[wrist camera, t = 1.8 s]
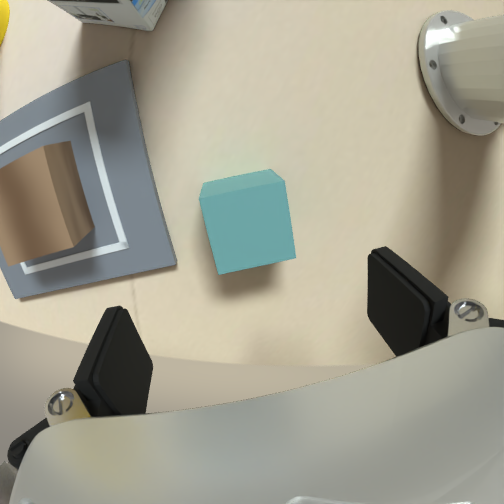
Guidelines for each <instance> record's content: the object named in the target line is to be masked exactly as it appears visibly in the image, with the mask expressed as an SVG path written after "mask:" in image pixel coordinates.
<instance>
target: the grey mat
mask: <svg viewBox="0 0 504 504" xmlns="http://www.w3.org/2000/svg"><path fill="white" fill-rule="evenodd" d="M66 141H71V145H72V149H73V153H74V157H75V161H76V165H77V169H78V173H79V177H80V180H81V184H82V187H83V191H84V194H85V198H86V201H87V204H88V207H89V210H90V214H91V217H92V220H93V223H94V226H95V227H94V228H93V229H92V230H91V231H90V232H89V233H88V234H87V235H86V236H85V237H84V238H83V239H82V240H80V241H79V242H78V243H77V244H76V245H75V246H74V247H72V248H68V249H65V250H62V251H58V252H55V253H51V254H48V255H44V256H41V257H38V258H34V259H31V260H28V261H25V262H21V263H18V264H15V265H12V266H9V267H8V265H7V262H6V260H5V257H4V255H3V252H2V250H1V247H0V268H1V270H2V272H3V275H4V277H5V279H6V281H7V283H8V286H9V288H10V290H11V292H12V294H13V296H14V298H15V299H18V298H22V297H27V296H32V295H36V294H41V293H45V292H50V291H55V290H59V289H64V288H69V287H73V286H78V285H83V284H87V283H92V282H97V281H101V280H106V279H111V278H115V277H120V276H125V275H129V274H134V273H139V272H143V271H148V270H153V269H157V268H162V267H167V266H172V265H176V262H177V258H176V255H175V252H174V249H173V245H172V242H171V239H170V235H169V232H168V228H167V225H166V222H165V218H164V215H163V211H162V207H161V204H160V200H159V196H158V193H157V189H156V185H155V181H154V177H153V173H152V169H151V165H150V161H149V157H148V153H147V149H146V145H145V140H144V136H143V131H142V127H141V122H140V118H139V113H138V108H137V103H136V98H135V93H134V88H133V83H132V77H131V72H130V66H129V61H127V60H123V61H120V62H117V63H115V64H112V65H109V66H107V67H104V68H102V69H99V70H97V71H94V72H92V73H89V74H87V75H85V76H82V77H80V78H78V79H76V80H74V81H71V82H69V83H67V84H65V85H63V86H61V87H59V88H57V89H55V90H53V91H51V92H49V93H47V94H45V95H43V96H41V97H39V98H38V99H36V100H34V101H32V102H30V103H29V104H27V105H25V106H24V107H22V108H20V109H18V110H17V111H15V112H14V113H12V114H10V115H9V116H7V117H6V118H4V119H2V120H1V121H0V168H2V167H4V166H5V165H7V164H9V163H11V162H13V161H14V160H16V159H18V158H20V157H22V156H24V155H26V154H28V153H30V152H32V151H34V150H36V149H38V148H40V147H42V146H45V145H50V144H55V143H60V142H66Z"/></svg>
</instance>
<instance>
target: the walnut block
mask: <svg viewBox="0 0 504 504" xmlns="http://www.w3.org/2000/svg"><path fill="white" fill-rule="evenodd" d="M94 227H95V226H94V223H93V220H92V217H91V214H90V210H89V207H88V204H87V201H86V198H85V194H84V191H83V187H82V184H81V180H80V177H79V173H78V169H77V165H76V161H75V157H74V153H73V149H72V145H71V141H66V142H60V143H55V144H50V145H45V146H42V147H40V148H38V149H36V150H34V151H32V152H30V153H28V154H26V155H24V156H22V157H20V158H18V159H16V160H14V161H13V162H11V163H9V164H7V165H5V166H4V167H2V168H0V247H1V250H2V252H3V255H4V257H5V260H6V262H7V265H8V267H9V266H12V265H15V264H18V263H21V262H25V261H28V260H31V259H34V258H38V257H41V256H44V255H48V254H51V253H55V252H58V251H62V250H65V249H68V248H72V247H74V246H75V245H76V244H77V243H78V242H79V241H80V240H82V239H83V238H84V237H85V236H86V235H87V234H88V233H89V232H90V231H91V230H92V229H93V228H94Z"/></svg>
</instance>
